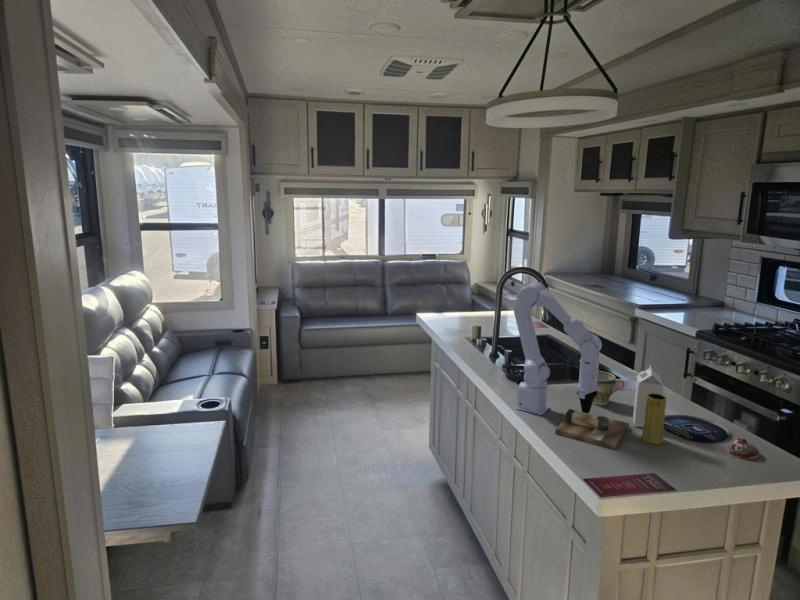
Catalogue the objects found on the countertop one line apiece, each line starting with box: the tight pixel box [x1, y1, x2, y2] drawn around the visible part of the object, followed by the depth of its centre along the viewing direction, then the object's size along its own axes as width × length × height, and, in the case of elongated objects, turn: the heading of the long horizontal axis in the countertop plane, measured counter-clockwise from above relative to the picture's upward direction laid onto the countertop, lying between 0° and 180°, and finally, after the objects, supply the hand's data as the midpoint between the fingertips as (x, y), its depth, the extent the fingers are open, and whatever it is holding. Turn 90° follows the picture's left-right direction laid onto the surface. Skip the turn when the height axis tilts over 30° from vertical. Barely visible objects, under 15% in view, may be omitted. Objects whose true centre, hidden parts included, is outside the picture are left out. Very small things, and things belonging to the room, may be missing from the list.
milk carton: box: [632, 365, 664, 428], centre depth 176 cm, size 7×7×19 cm
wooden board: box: [554, 411, 630, 450], centre depth 173 cm, size 18×18×2 cm
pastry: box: [726, 437, 760, 461], centre depth 158 cm, size 8×8×5 cm
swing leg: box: [565, 408, 610, 431], centre depth 174 cm, size 13×4×3 cm, turn 56°
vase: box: [641, 393, 667, 445], centre depth 166 cm, size 6×6×14 cm
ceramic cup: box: [592, 370, 625, 406], centre depth 194 cm, size 13×10×10 cm
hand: (585, 412), depth 180 cm, fingers closed
